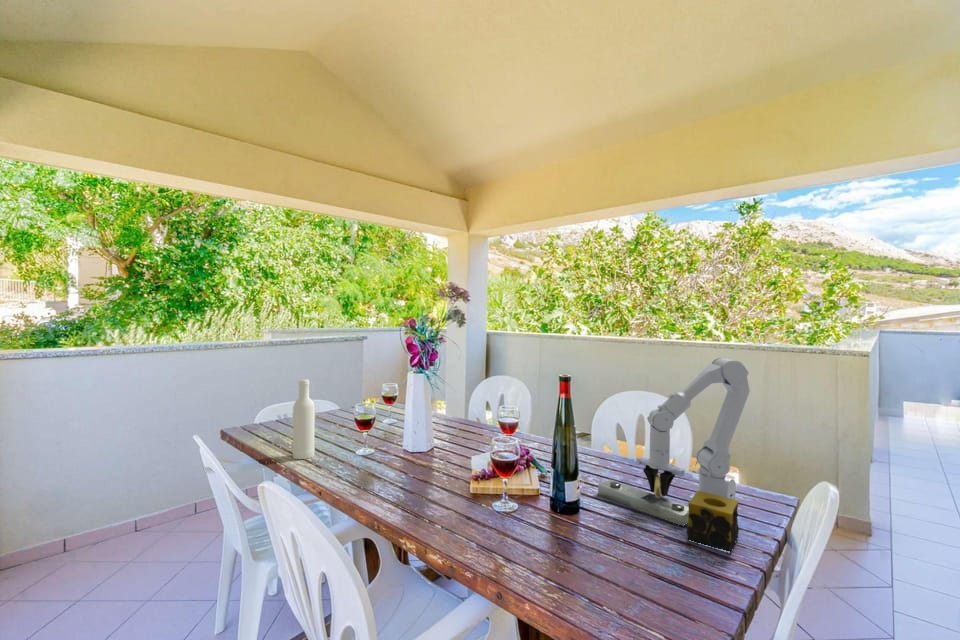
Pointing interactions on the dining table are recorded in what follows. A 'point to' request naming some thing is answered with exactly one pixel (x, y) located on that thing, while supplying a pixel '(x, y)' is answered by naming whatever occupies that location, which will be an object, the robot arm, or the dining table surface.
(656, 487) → the pin
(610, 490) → the bolted metal base plate
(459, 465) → the dining table surface
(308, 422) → the bottle
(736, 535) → the yellow block with hole
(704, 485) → the robot arm
